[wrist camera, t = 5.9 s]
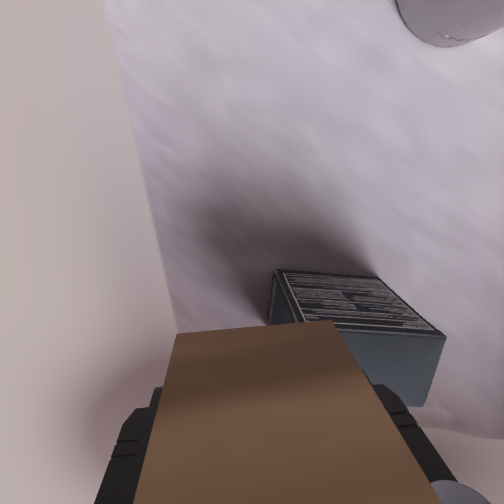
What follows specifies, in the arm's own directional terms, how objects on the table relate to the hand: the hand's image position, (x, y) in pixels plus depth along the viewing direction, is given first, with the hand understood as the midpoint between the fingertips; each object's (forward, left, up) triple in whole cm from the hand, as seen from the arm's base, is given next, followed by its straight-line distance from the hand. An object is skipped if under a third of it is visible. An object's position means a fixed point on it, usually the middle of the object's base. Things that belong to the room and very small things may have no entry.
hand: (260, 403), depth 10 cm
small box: (+8, +8, -22) cm, 24 cm away
